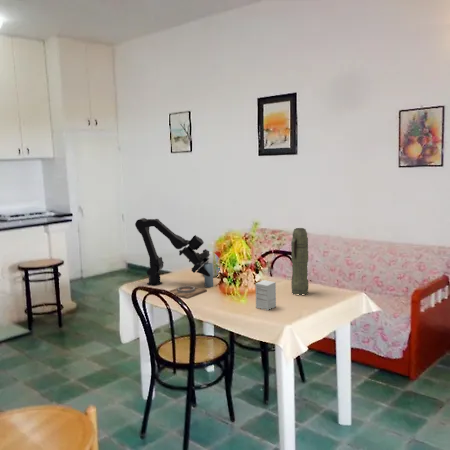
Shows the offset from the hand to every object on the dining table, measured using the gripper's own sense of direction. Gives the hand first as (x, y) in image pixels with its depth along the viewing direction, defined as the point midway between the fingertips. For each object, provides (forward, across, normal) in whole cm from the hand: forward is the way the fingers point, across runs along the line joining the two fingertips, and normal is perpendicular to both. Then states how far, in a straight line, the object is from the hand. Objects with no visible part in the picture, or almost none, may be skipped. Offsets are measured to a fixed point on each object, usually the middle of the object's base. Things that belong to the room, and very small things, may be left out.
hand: (211, 274), depth 279 cm
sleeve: (+4, 0, +6) cm, 7 cm away
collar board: (-3, -15, +12) cm, 19 cm away
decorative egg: (0, +23, +9) cm, 25 cm away
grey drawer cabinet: (+30, -33, -21) cm, 49 cm away
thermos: (+41, -7, -31) cm, 52 cm away
